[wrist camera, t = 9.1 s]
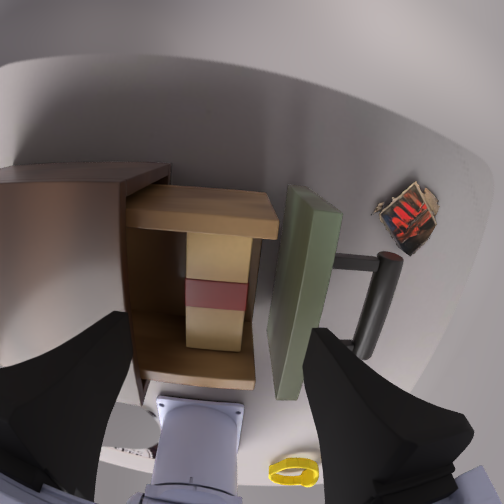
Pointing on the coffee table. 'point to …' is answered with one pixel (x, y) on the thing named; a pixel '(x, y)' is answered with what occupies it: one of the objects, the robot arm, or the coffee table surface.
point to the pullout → (285, 284)
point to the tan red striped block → (216, 290)
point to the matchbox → (410, 218)
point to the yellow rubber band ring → (305, 479)
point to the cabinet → (67, 255)
